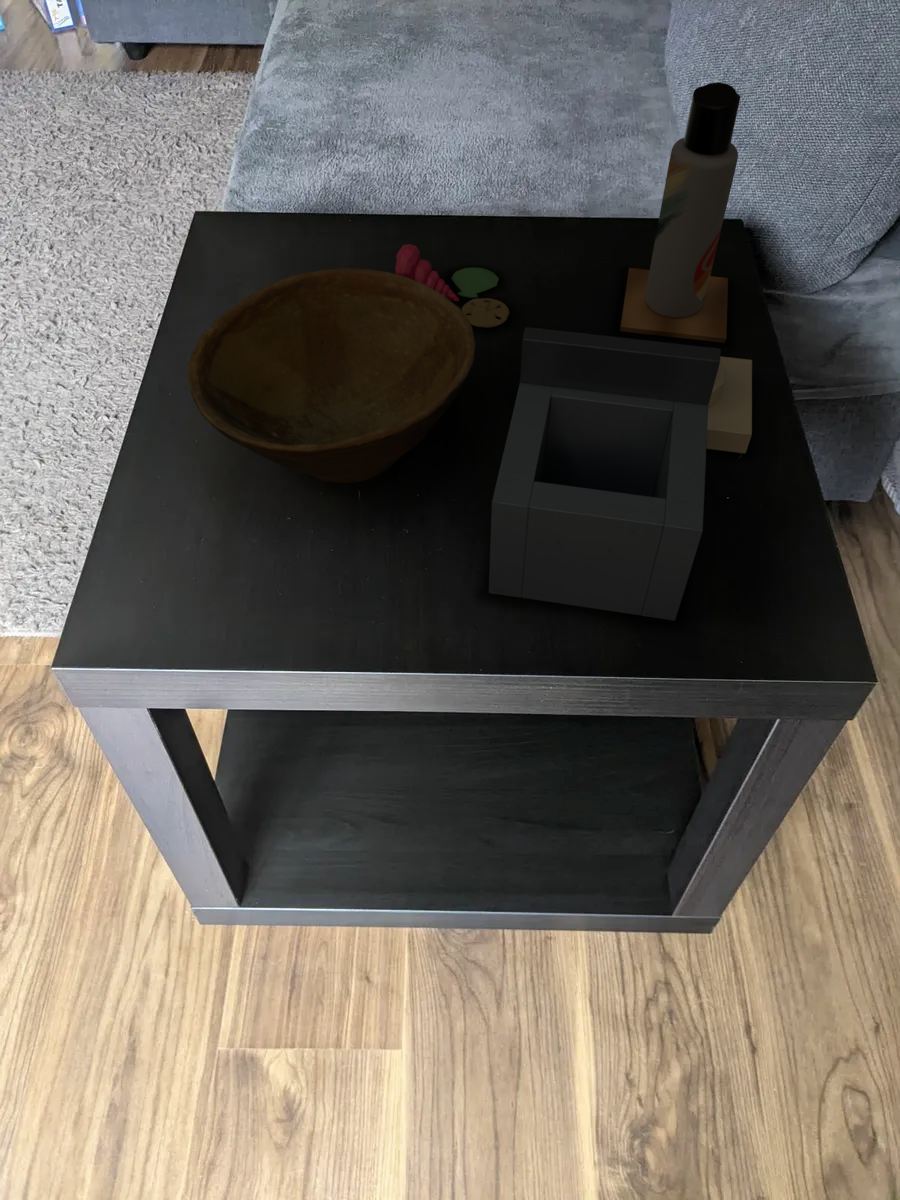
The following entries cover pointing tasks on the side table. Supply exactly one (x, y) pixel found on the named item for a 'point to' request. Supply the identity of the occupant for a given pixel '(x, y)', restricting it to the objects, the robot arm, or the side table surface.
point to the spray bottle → (694, 203)
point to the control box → (731, 406)
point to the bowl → (333, 370)
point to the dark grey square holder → (603, 473)
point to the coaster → (697, 326)
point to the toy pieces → (464, 279)
